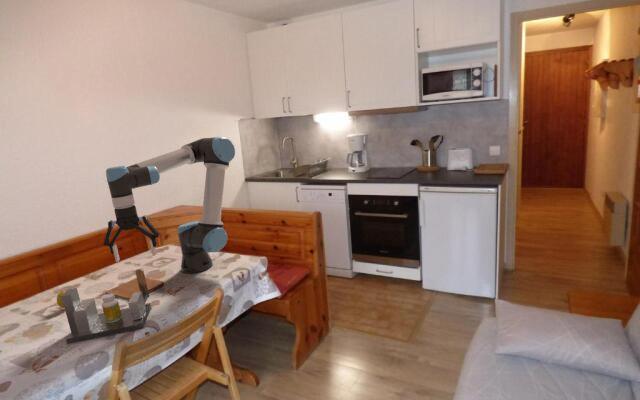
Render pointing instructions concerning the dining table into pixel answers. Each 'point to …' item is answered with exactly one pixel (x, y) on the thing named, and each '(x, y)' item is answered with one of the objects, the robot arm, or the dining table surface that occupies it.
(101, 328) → the grey frame
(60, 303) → the lemon
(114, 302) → the supplement bottle
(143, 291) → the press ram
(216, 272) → the dining table surface
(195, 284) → the dining table surface
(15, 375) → the dining table surface
